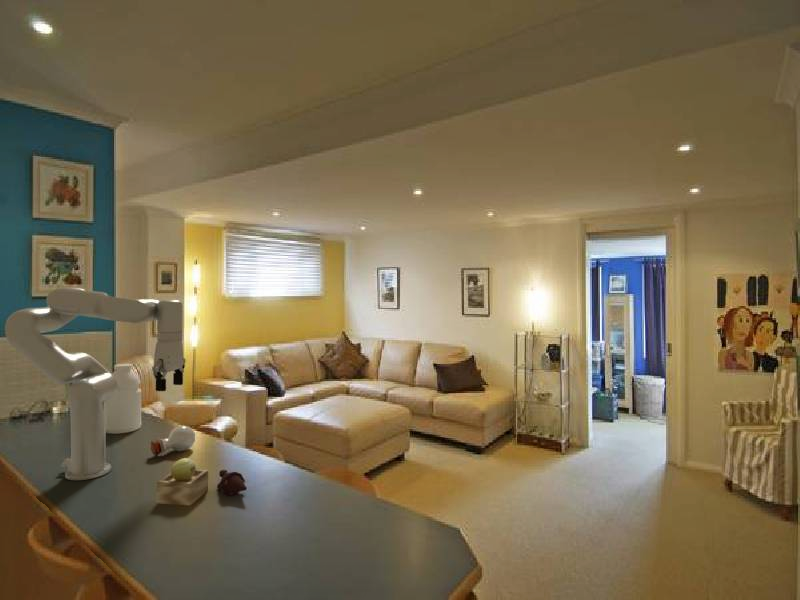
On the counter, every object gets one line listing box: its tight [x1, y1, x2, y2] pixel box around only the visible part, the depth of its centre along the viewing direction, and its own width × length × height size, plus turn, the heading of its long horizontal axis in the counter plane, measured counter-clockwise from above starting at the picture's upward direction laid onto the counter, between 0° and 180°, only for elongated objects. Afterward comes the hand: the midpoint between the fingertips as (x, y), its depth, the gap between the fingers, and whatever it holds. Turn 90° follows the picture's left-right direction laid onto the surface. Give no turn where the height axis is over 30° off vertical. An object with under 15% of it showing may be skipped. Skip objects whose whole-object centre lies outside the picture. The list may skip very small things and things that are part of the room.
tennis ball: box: [170, 457, 196, 482], centre depth 136 cm, size 6×7×7 cm
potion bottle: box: [150, 425, 196, 459], centre depth 172 cm, size 9×10×15 cm
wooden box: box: [156, 469, 209, 506], centre depth 136 cm, size 10×10×6 cm
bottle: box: [103, 363, 142, 435], centre depth 198 cm, size 14×14×28 cm
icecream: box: [216, 469, 248, 497], centre depth 138 cm, size 7×7×15 cm
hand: (169, 387), depth 154 cm, fingers open, 9 cm apart
